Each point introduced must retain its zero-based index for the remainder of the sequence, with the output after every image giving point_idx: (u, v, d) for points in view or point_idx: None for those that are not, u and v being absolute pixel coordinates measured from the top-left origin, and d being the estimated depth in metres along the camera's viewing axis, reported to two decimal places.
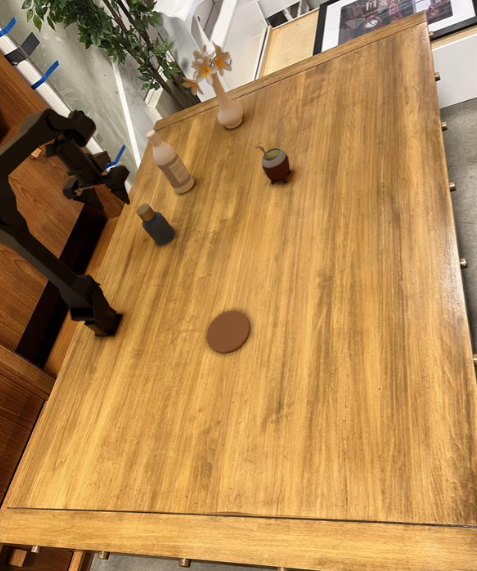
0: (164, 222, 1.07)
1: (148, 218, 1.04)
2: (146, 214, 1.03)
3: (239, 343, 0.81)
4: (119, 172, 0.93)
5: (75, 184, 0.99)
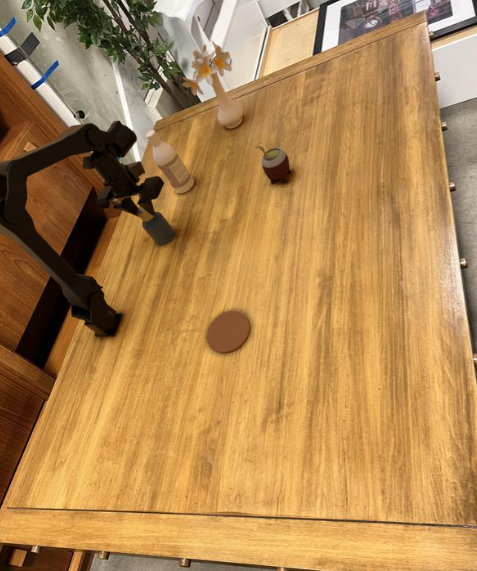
0: (164, 222, 1.07)
1: (148, 218, 1.04)
2: (146, 214, 1.03)
3: (239, 343, 0.81)
4: (155, 183, 0.95)
5: (109, 194, 1.01)
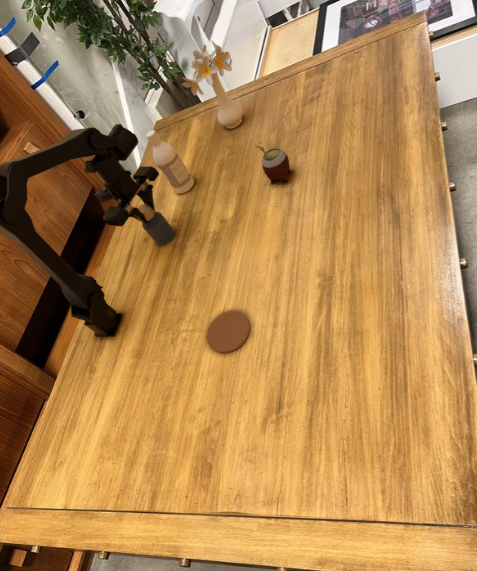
0: (164, 222, 1.07)
1: (153, 211, 1.05)
2: (150, 207, 1.04)
3: (239, 343, 0.81)
4: None
5: None
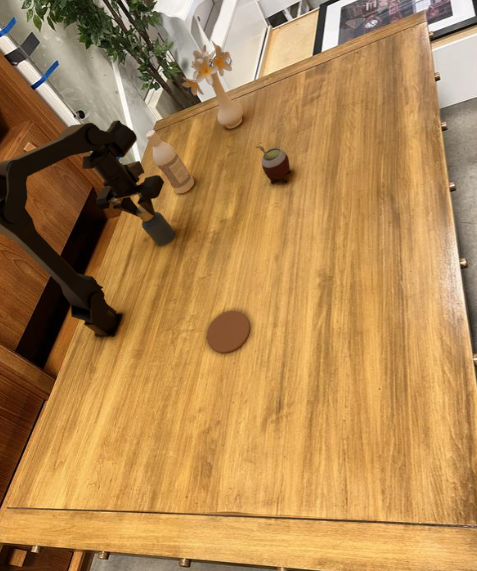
0: (164, 222, 1.07)
1: None
2: None
3: (239, 343, 0.81)
4: (155, 182, 0.95)
5: (109, 194, 1.01)
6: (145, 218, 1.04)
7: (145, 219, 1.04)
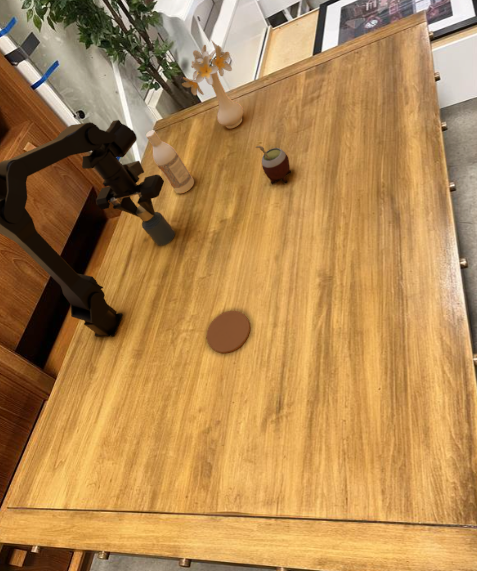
0: (164, 222, 1.07)
1: None
2: None
3: (239, 343, 0.81)
4: (155, 181, 0.95)
5: (109, 194, 1.01)
6: None
7: None
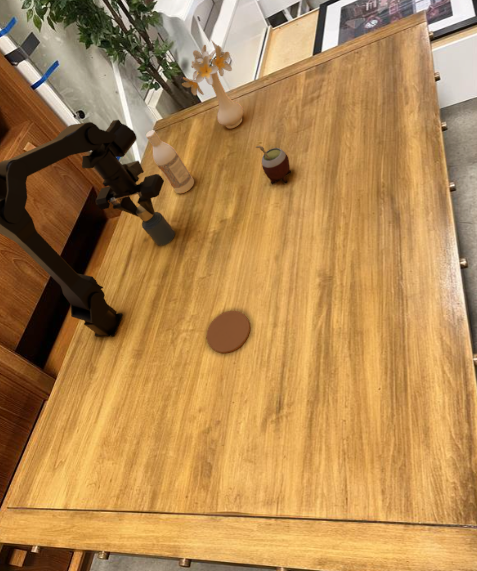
0: (164, 222, 1.07)
1: (141, 219, 1.05)
2: (139, 216, 1.04)
3: (239, 343, 0.81)
4: (155, 181, 0.95)
5: (108, 194, 1.01)
6: None
7: None
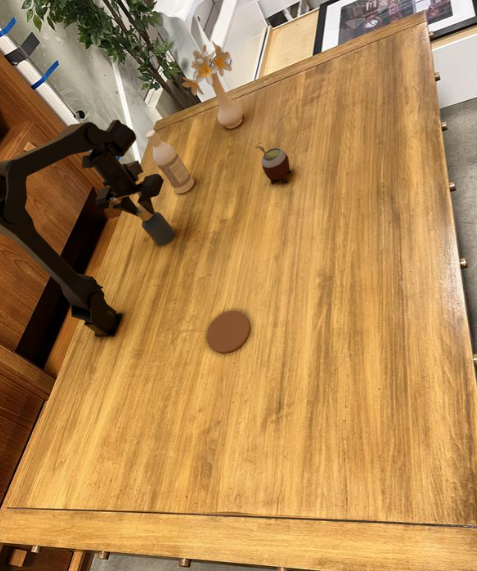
0: (164, 222, 1.07)
1: (149, 216, 1.04)
2: (146, 212, 1.03)
3: (239, 343, 0.81)
4: (155, 180, 0.95)
5: (108, 194, 1.00)
6: None
7: None
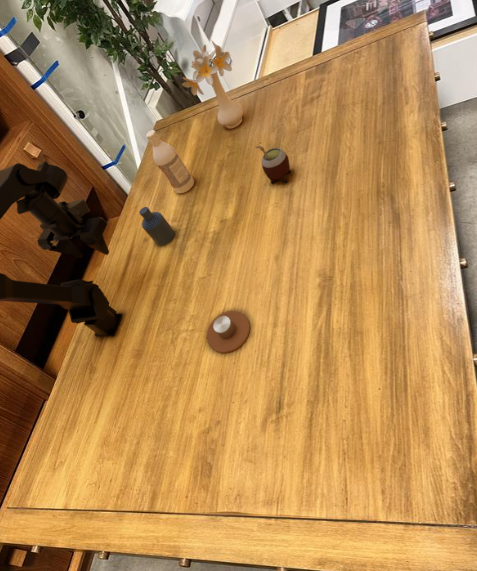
0: (164, 222, 1.07)
1: (230, 335, 0.82)
2: (228, 331, 0.81)
3: (239, 343, 0.81)
4: (95, 225, 0.89)
5: (51, 234, 0.95)
6: None
7: None
